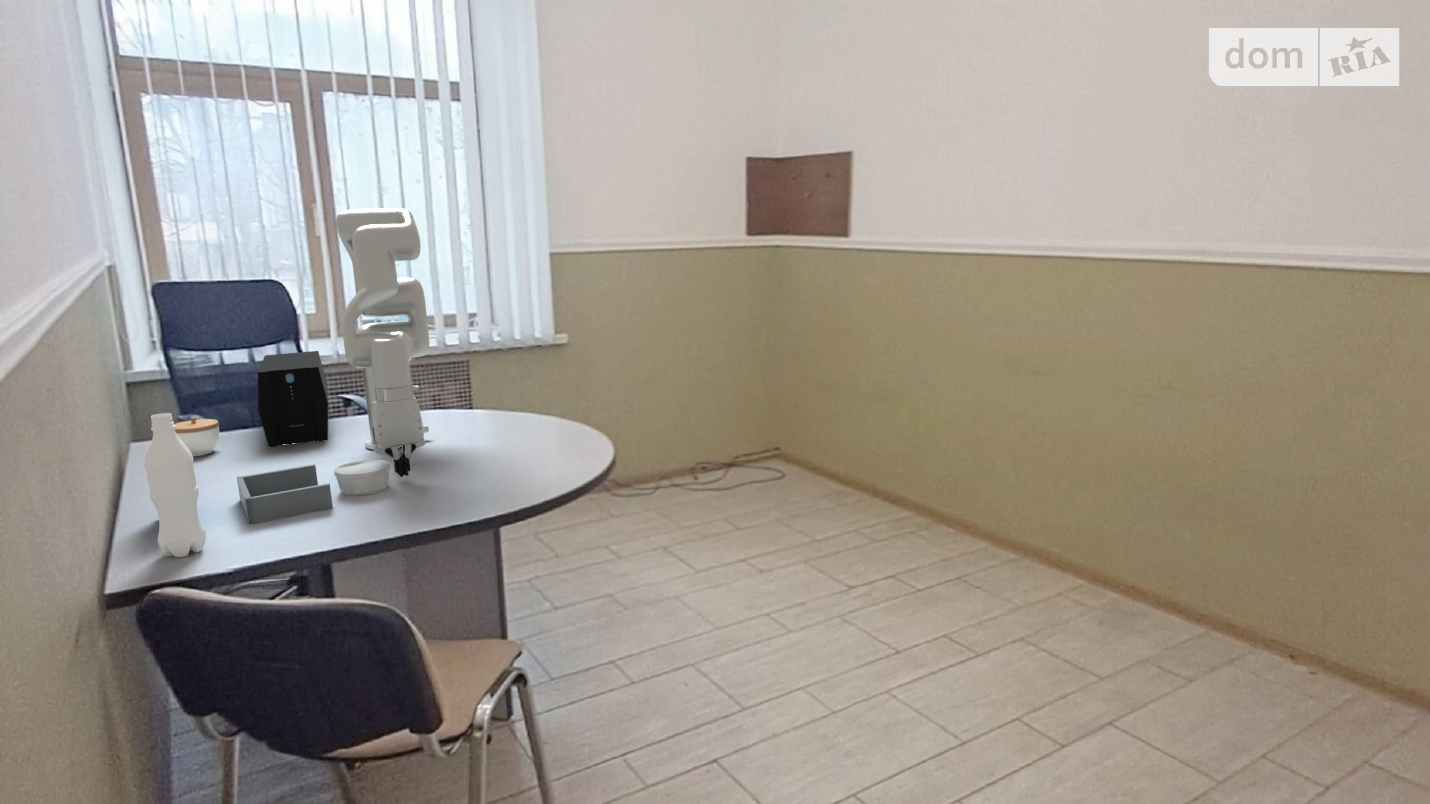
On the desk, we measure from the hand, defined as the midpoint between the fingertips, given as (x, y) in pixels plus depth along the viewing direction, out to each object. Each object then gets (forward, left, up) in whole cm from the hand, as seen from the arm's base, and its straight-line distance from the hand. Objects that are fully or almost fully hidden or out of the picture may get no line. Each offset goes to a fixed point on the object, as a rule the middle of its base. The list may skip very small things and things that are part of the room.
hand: (403, 474), depth 186 cm
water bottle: (+42, +18, -2) cm, 46 cm away
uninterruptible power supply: (+11, -69, -2) cm, 70 cm away
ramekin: (+8, 0, -2) cm, 8 cm away
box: (+23, 0, -2) cm, 23 cm away
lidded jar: (+36, -59, -2) cm, 69 cm away
